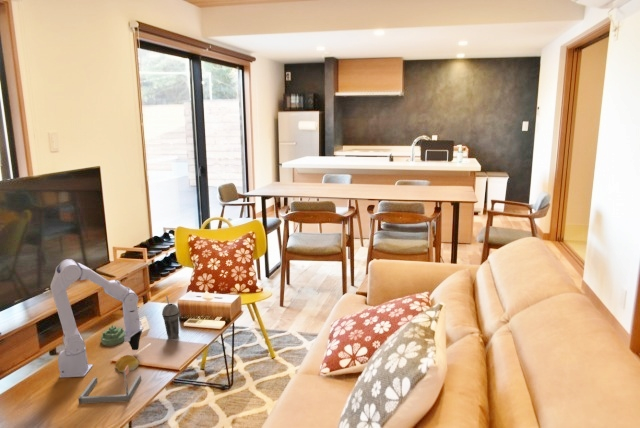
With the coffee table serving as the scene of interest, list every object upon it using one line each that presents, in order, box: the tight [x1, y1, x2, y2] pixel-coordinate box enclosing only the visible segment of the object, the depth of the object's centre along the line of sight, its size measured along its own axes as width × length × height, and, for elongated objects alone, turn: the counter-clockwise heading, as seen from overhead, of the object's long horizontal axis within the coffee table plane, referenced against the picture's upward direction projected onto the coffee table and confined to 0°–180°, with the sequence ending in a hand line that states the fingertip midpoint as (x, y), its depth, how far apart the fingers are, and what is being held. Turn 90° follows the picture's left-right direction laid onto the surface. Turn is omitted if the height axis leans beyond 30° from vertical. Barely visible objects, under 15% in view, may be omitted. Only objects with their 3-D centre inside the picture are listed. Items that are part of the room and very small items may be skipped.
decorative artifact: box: [100, 325, 125, 347], centre depth 207 cm, size 10×7×10 cm
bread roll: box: [114, 354, 140, 373], centre depth 186 cm, size 8×9×4 cm
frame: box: [78, 365, 142, 405], centre depth 169 cm, size 17×13×12 cm
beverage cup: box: [161, 295, 180, 341], centre depth 207 cm, size 7×7×20 cm
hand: (135, 349), depth 195 cm, fingers closed
